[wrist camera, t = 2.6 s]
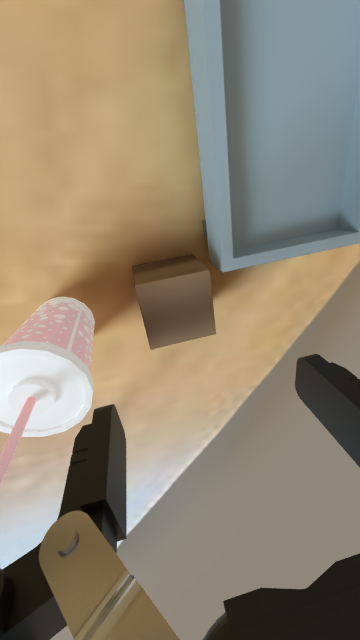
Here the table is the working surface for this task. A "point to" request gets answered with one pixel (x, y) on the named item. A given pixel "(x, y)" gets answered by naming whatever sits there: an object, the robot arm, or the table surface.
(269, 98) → the light blue tray
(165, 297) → the walnut block
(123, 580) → the robot arm
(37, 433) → the beverage cup
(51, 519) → the table surface
